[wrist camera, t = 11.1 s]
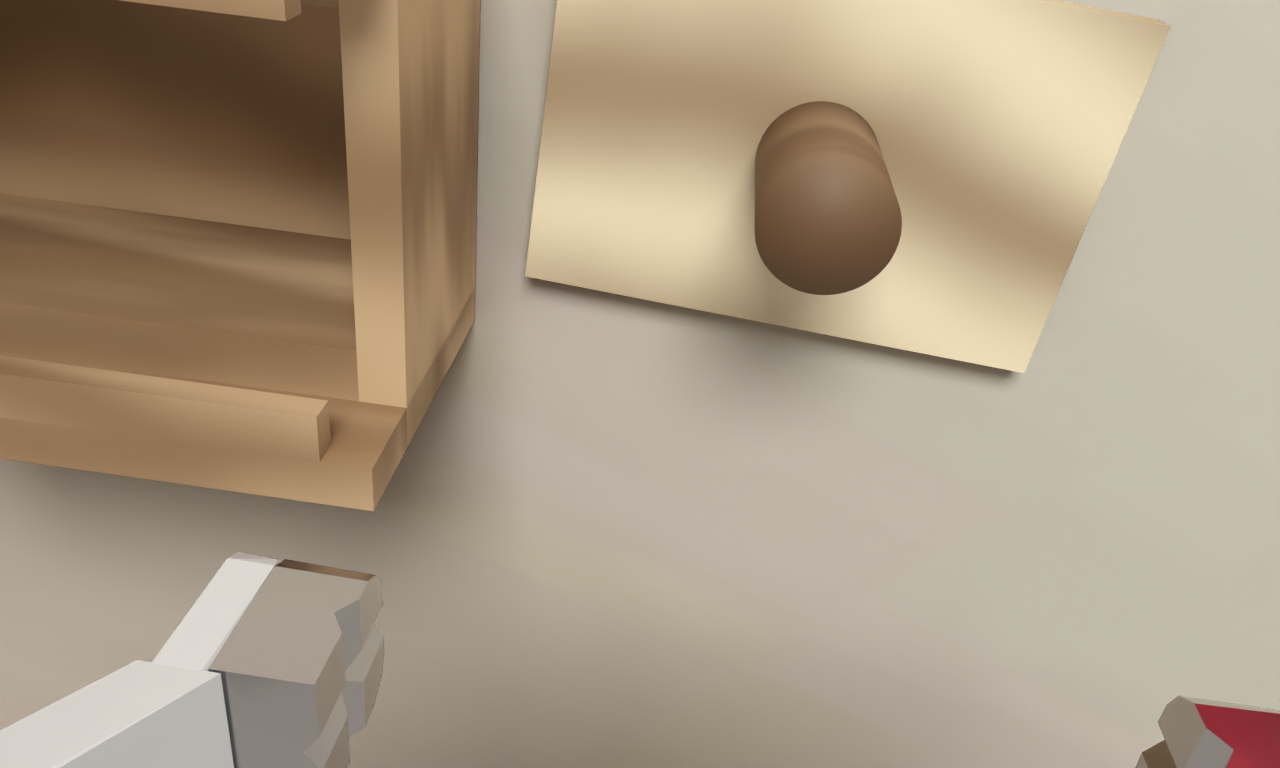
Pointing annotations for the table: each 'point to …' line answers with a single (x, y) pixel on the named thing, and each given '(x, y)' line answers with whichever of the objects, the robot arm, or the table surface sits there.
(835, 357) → the table surface
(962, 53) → the lid
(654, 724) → the table surface
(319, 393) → the lid box
